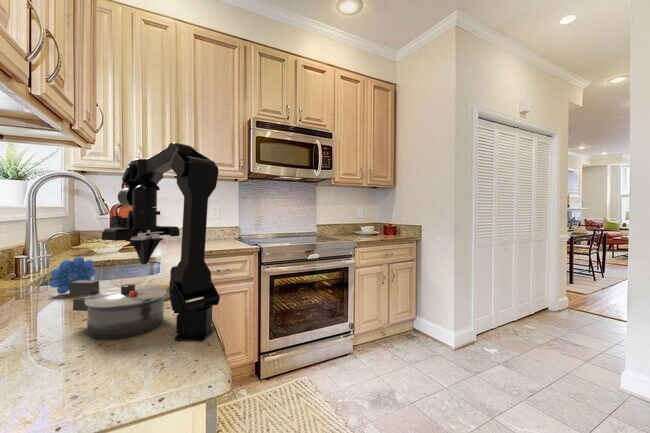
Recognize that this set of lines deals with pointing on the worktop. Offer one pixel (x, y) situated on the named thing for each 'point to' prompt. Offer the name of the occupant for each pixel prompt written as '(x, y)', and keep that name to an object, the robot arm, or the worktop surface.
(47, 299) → the worktop surface
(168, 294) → the bread roll
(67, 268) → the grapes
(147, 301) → the cooker lid
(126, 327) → the cooker pot
